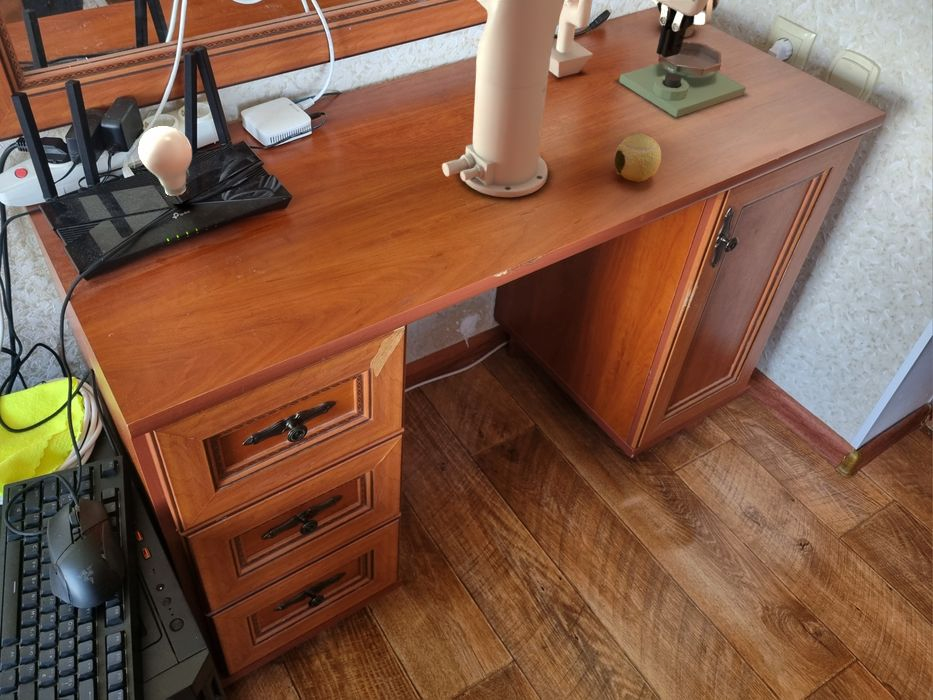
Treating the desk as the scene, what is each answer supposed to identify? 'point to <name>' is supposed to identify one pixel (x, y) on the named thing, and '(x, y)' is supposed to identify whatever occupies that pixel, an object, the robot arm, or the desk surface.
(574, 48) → the figurine
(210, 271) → the desk surface
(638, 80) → the scale
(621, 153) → the tennis ball
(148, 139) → the lightbulb
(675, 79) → the button
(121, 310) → the desk surface
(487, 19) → the robot arm
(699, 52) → the pan
